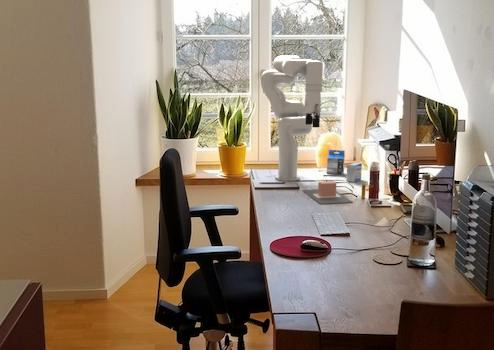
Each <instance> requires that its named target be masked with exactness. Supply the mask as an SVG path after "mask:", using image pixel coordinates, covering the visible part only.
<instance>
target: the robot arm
mask: <svg viewBox="0 0 494 350" xmlns="http://www.w3.org/2000/svg"><path fill="white" fill-rule="evenodd" d="M272 66H273V68H274V69H269V70H266V71H264V72H262V74H261V76H260V86H261V89H262V91H263V93H264V94H265V97H267V99H268V100H269V103H270V105H271V106H270V107H271V108H272V111H273V113H274V115H275V118H277V119H278V121H277V124H276V125H277V134H278V165H277V166H278V167H277V168H278V174H276V175H275V176H274V178H275V179H276V180H277V181H282V182H295V181H299V180H300V179H301V176H300V175H298V150H299V149H298V148H299V147H298V141H297V139H295V137H294V136H296V137H297V136H307V135H309V134H310V133H311V132H312V130H313V129H312V128H320V126H321V125H320V122H321V121H320V119H321V108H322V107H321V106H322V104H321V103H322V102H321V101H322V99H321V98H322V97H321V96H322V95H321V93H322V92H323V73H324V72H323V70H324V68H323V67H324V64H323V62H322V61H321V60H313V59H302V58H301V57H300V56H298V55H278V56H277V57H275V59H274V61H273V64H272ZM298 77H305V85H304V86H305V88H304V89H305V90H304V91H305V94H304V95H305V96H304V103H303V102H302V101H300V100H288V99H287V97H286V95H285V93H284V92H283V91H282V90H281V89H280V88H278V87H291V86H293V85H294V83H295V82H296V80H297V78H298Z"/></svg>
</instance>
